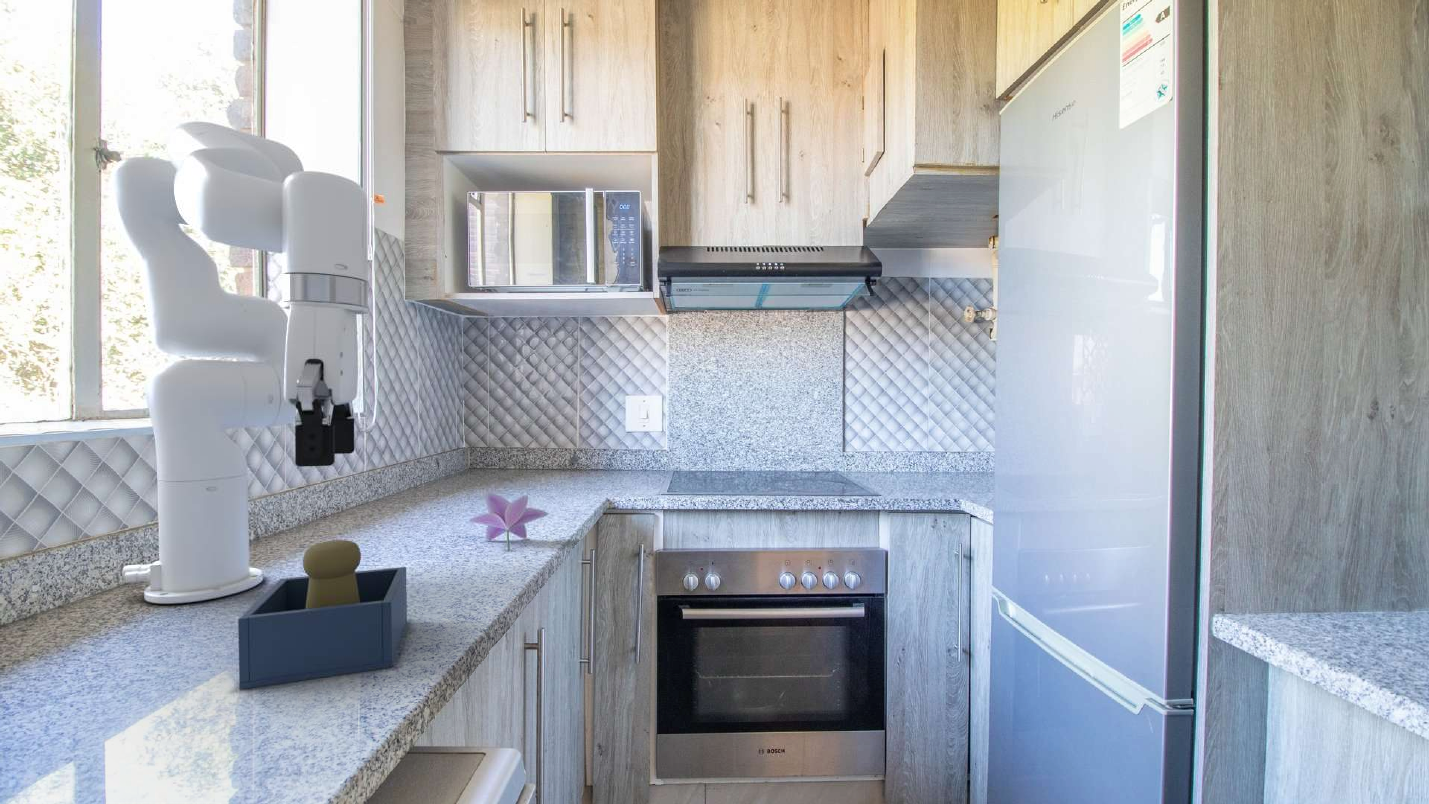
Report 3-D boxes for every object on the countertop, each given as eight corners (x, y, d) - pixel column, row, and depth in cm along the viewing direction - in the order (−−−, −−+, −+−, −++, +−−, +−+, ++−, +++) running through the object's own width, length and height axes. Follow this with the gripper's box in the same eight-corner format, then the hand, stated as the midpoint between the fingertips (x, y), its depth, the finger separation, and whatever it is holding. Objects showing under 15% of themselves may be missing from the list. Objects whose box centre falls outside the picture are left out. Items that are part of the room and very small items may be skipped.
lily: (557, 547, 110) (550, 497, 113) (526, 536, 99) (519, 481, 103) (497, 565, 111) (492, 515, 115) (459, 557, 100) (455, 502, 104)
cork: (286, 650, 63) (284, 545, 63) (345, 629, 68) (343, 533, 68) (320, 663, 60) (318, 552, 60) (378, 640, 66) (377, 539, 65)
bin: (239, 689, 56) (237, 619, 56) (281, 637, 68) (280, 578, 68) (392, 667, 61) (391, 601, 60) (407, 621, 72) (406, 566, 72)
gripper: (307, 303, 70) (308, 450, 71) (254, 283, 54) (256, 473, 55) (380, 307, 73) (380, 448, 74) (350, 289, 57) (351, 470, 58)
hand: (327, 459), depth 64 cm, fingers open, 9 cm apart
